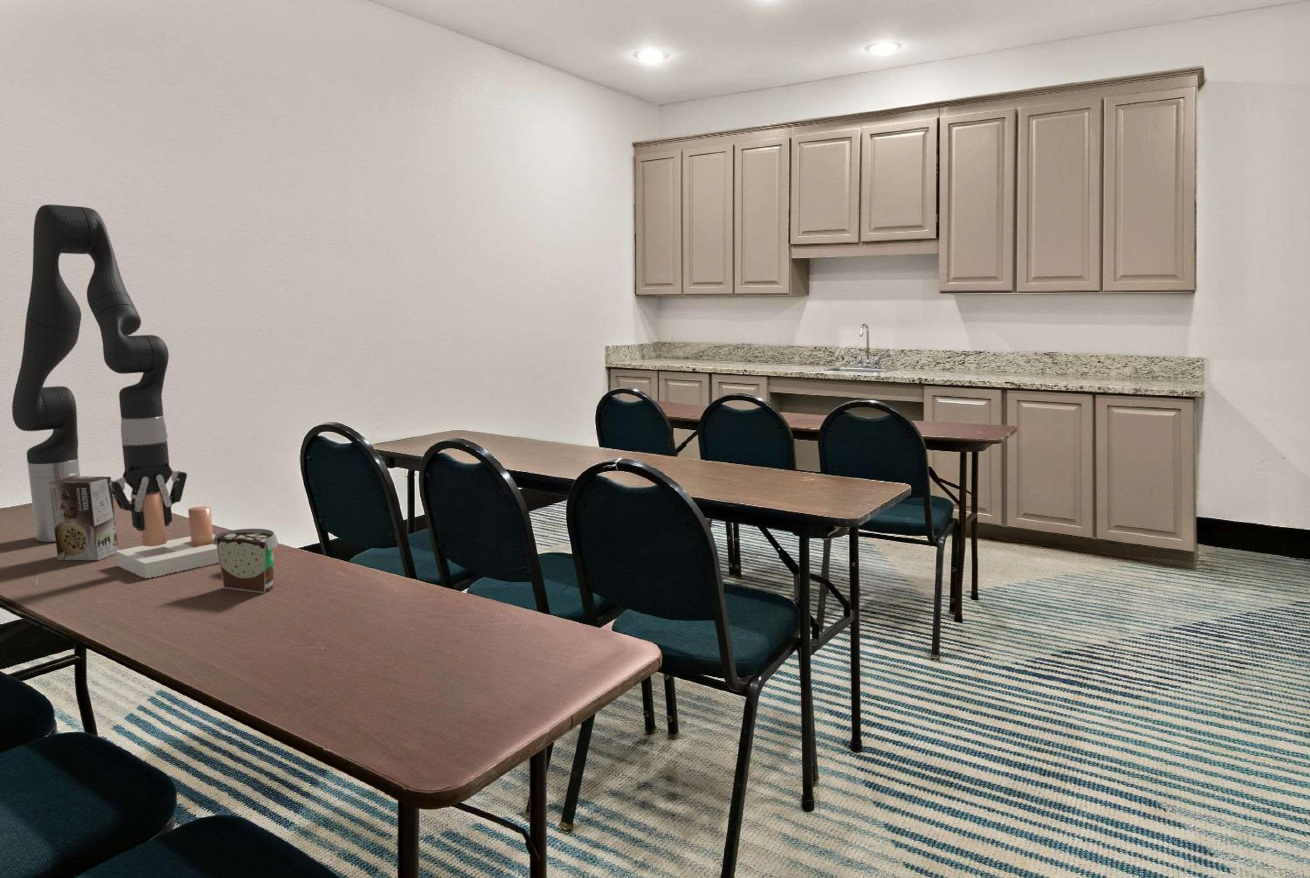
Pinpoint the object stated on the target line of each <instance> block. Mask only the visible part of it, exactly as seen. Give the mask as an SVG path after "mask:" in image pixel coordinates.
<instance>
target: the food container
mask: <svg viewBox="0 0 1310 878" xmlns="http://www.w3.org/2000/svg"><path fill="white" fill-rule="evenodd" d="M214 535H215V537H214V545H217V551H218V558H219V563H218V565H219V569H220V575H221V580H222V581H221V582H222V587H223V589H228V590H235V591H242V592H243V591H244V592H250V593H251V592H252V593H258V594H266V593H269V592H270V591H272V590H273V589H274V572H275V571H274V569H275V567H274V566H275V557H274V548H275V547H278V545H279V542H278V538H277V535H276V534H275V531H273V530H271V529H267V528H266V529H265V528H242V529H241V528H240V529H232V530H226V531H221V532H218V533H214Z"/></svg>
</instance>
